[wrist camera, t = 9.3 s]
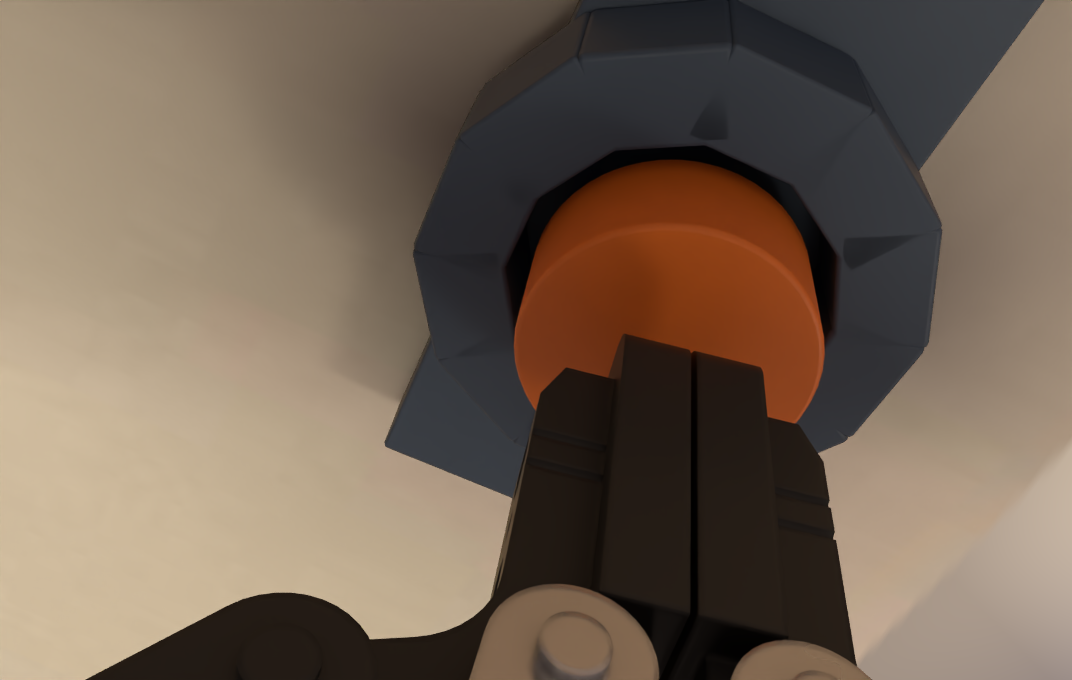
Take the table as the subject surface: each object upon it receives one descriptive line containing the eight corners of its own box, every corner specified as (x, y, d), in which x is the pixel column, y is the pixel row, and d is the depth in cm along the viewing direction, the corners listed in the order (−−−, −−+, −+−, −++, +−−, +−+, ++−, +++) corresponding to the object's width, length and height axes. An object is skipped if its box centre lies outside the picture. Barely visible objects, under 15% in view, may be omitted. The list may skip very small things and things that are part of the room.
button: (602, 107, 12) (589, 171, 10) (867, 231, 12) (890, 307, 11) (492, 331, 14) (469, 409, 12) (722, 429, 14) (725, 516, 13)
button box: (661, -347, 11) (652, -349, 9) (1138, -94, 12) (1254, -31, 10) (361, 389, 18) (308, 503, 16) (678, 518, 19) (675, 648, 16)
